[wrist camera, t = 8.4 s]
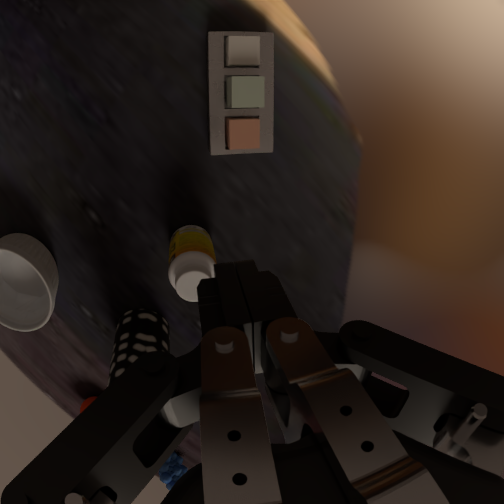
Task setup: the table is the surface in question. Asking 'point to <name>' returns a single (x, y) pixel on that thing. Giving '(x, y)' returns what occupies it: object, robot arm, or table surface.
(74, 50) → the table surface
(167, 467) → the grapes
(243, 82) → the key sage
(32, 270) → the ramekin
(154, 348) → the spotted tube
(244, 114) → the keypad frame
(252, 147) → the key terracotta
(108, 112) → the table surface
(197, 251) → the supplement bottle
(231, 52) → the key ivory
